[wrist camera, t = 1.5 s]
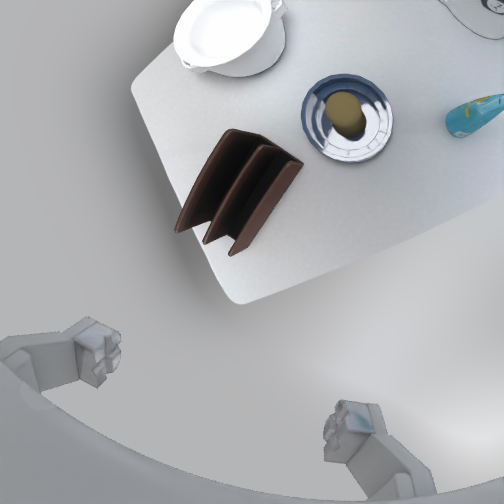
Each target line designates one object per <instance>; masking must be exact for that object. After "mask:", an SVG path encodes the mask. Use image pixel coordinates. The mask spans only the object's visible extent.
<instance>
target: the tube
mask: <svg viewBox="0 0 504 504" xmlns="http://www.w3.org/2000/svg"><path fill="white" fill-rule="evenodd" d="M503 110H504V94H499V95H492V96H487V97H483V98H480V99H476V100H473V101H471V102H468V103H465V104H463V105H461V106H459V107H457V108H455V109H454V110H452V111H450V112H449V113H448V115H447V117H446V126H447V128H448V130H449V131H450V133H451V134H452V135H454V136H456V137H459V138H463V137H465V136H467V135H469V134H471V133H473V132H474V131H476V130H477V129H479V128H481V127H482V126H483V125H485V124H486V123H488V122H489V121H490V120H492V119H493V118H494V117H496V116H497V115H498V114H499V113H501V112H502V111H503Z"/></svg>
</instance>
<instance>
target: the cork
mask: <svg viewBox="0 0 504 504" xmlns="http://www.w3.org/2000/svg"><path fill="white" fill-rule="evenodd" d="M325 113H326V115H327V117H328V119H329V120H330V121H331V122H332V126H333V128H334V130H335V131H336V132H337V133H338V134H339V135H341V136H343V137H346V138H355V137H357V136H359V135H361V134H362V133H363V132H364V130H365V128H366V123H367V122H366V117H365V115H364V113H363V111H362V106H361V104H360V102H359V100H358V99H357V98H356V97H355V96H354V95H352V94H350V93H347V92H337V93H335V94H332V95H331V96H330V97H329V98H328V100H327V102H326V105H325Z"/></svg>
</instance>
